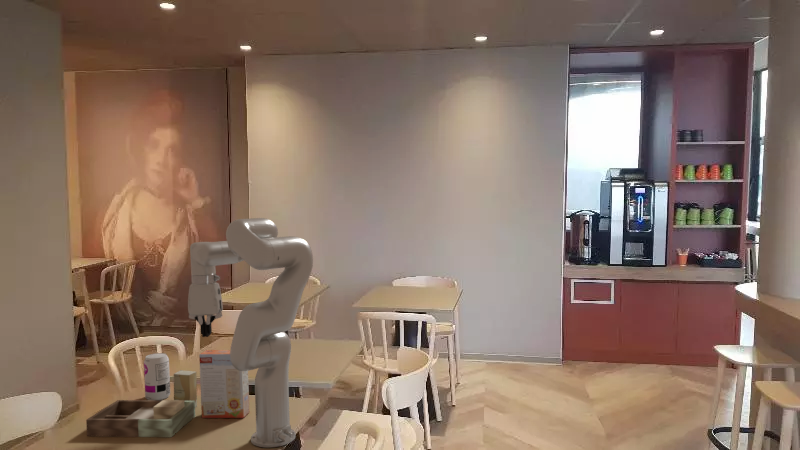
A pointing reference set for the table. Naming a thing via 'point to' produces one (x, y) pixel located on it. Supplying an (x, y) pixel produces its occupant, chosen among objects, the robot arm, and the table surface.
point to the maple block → (167, 408)
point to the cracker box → (222, 386)
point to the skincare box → (185, 386)
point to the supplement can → (157, 376)
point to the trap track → (137, 420)
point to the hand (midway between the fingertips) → (206, 336)
